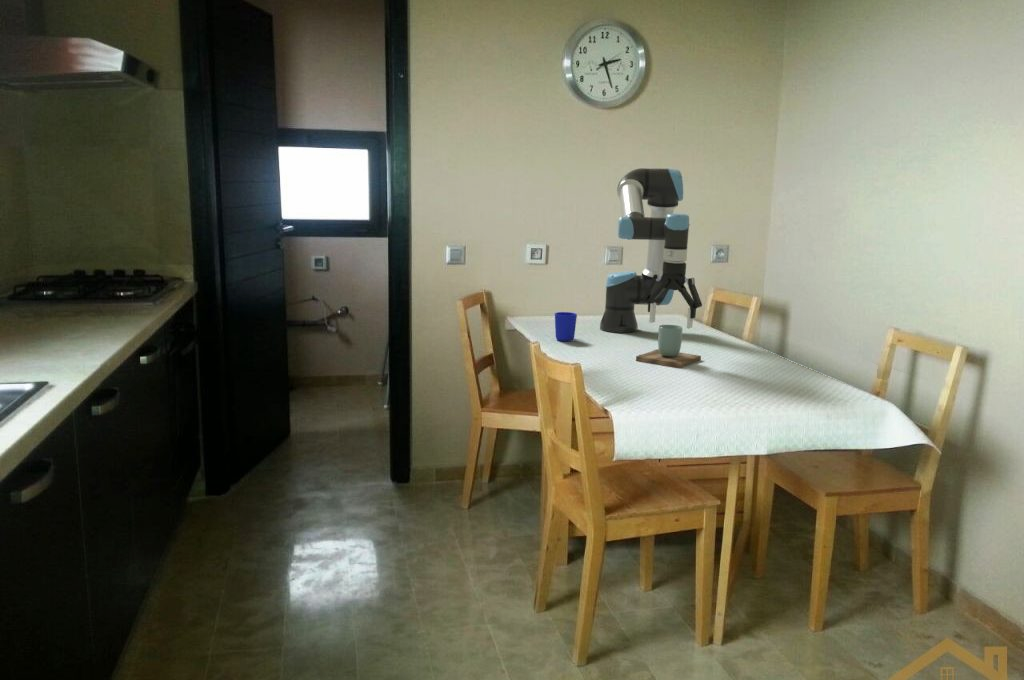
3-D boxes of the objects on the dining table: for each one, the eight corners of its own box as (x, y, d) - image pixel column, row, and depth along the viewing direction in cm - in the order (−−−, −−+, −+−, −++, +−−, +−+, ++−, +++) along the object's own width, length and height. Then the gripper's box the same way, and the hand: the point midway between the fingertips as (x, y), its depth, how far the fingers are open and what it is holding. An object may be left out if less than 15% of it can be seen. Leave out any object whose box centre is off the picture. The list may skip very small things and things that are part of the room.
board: (635, 360, 267) (636, 356, 267) (657, 353, 279) (658, 348, 279) (680, 368, 258) (680, 363, 257) (700, 360, 270) (701, 355, 270)
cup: (680, 359, 264) (682, 329, 262) (656, 357, 265) (658, 327, 263) (680, 354, 271) (682, 325, 269) (657, 352, 273) (659, 324, 271)
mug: (576, 336, 306) (577, 310, 304) (575, 342, 295) (576, 316, 293) (554, 335, 307) (555, 310, 305) (553, 341, 295) (554, 315, 293)
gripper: (635, 259, 266) (631, 321, 271) (705, 266, 252) (700, 332, 257) (645, 257, 272) (642, 318, 277) (715, 264, 258) (710, 328, 262)
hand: (670, 325), depth 267 cm, fingers open, 13 cm apart
